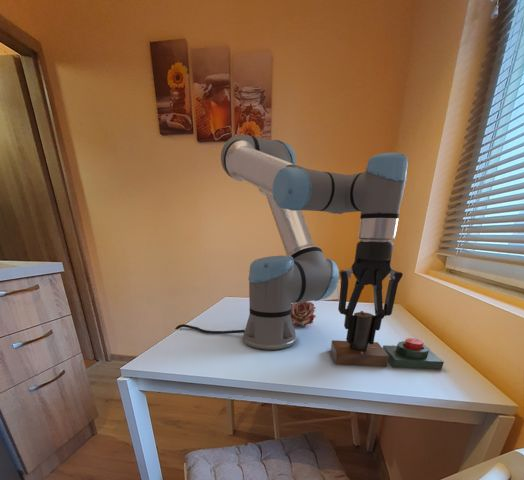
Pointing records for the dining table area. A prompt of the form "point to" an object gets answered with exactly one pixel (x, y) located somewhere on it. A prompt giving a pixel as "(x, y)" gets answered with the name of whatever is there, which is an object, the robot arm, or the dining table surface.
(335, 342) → the brown wooden block
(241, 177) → the robot arm
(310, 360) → the dining table surface
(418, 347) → the button
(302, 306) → the flower
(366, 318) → the dark brown cylinder
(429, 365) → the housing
